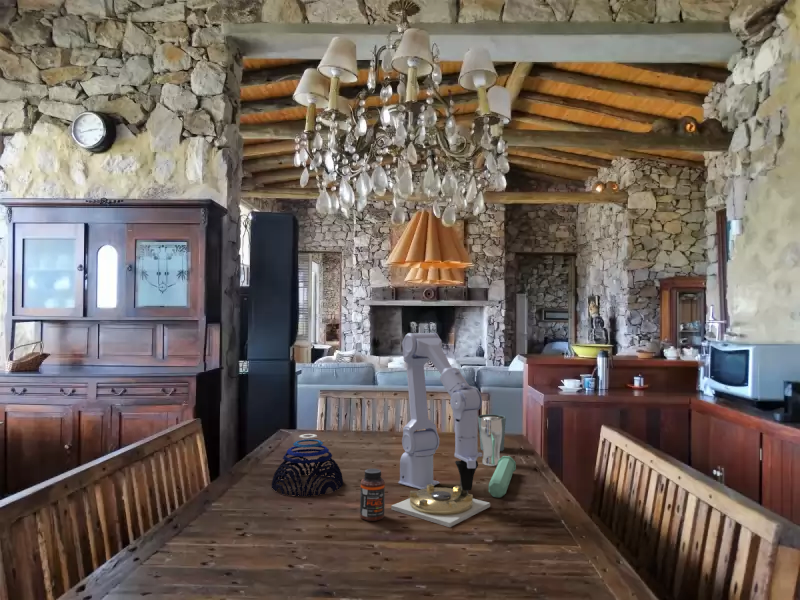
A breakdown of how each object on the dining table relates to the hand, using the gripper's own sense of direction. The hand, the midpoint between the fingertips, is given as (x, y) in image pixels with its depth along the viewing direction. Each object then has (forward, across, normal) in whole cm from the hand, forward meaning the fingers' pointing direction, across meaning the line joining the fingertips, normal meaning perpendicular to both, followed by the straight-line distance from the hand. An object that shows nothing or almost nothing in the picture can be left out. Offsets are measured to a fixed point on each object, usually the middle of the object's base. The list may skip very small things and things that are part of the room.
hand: (466, 489), depth 139 cm
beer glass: (+4, +41, -16) cm, 44 cm away
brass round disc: (+3, 0, +7) cm, 7 cm away
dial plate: (+4, 0, +7) cm, 8 cm away
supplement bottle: (+5, -5, +24) cm, 25 cm away
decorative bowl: (+5, +21, +42) cm, 48 cm away
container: (+5, +18, -14) cm, 23 cm away
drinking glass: (+4, +60, -20) cm, 63 cm away
